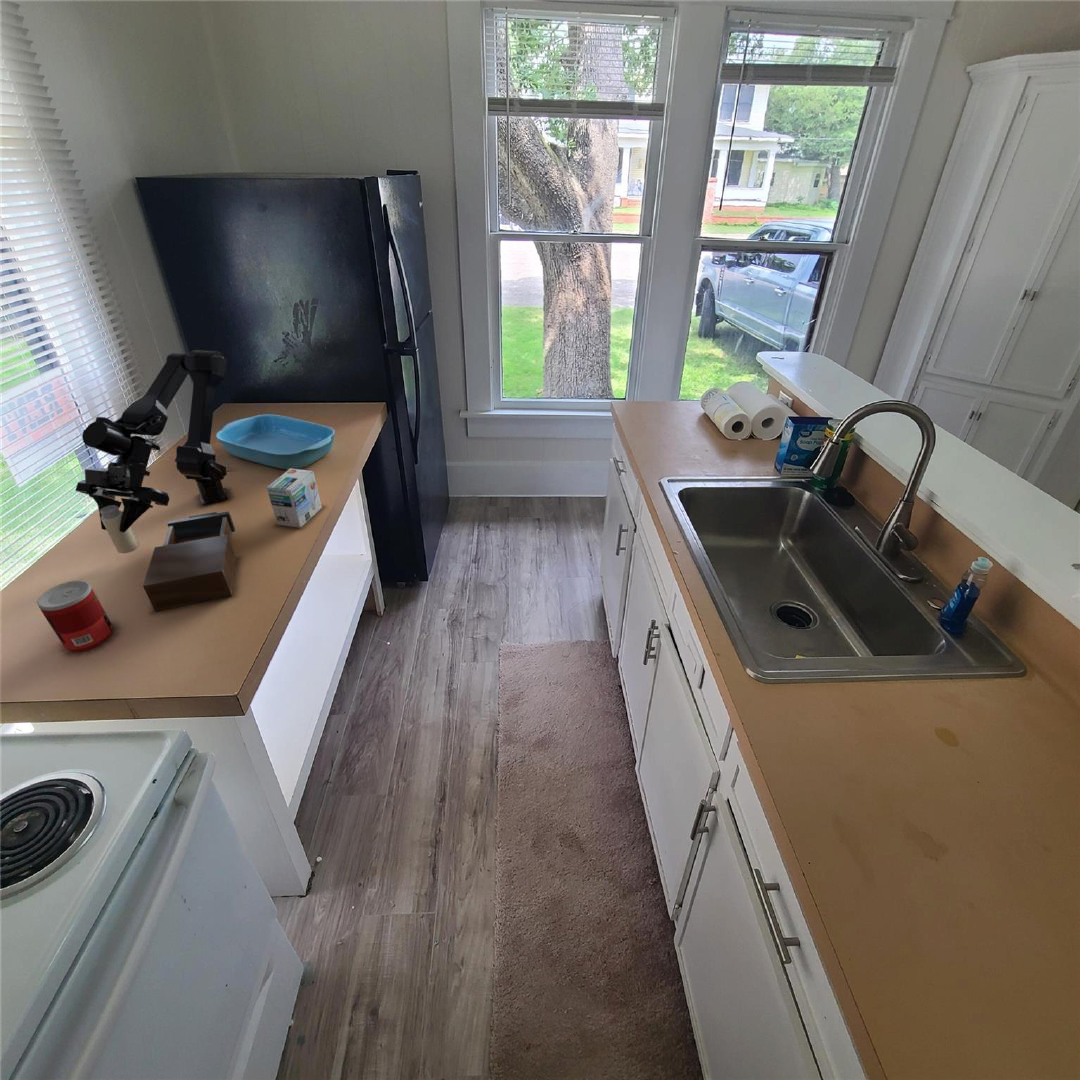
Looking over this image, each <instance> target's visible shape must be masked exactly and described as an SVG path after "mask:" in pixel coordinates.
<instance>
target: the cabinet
mask: <svg viewBox="0 0 1080 1080" xmlns="http://www.w3.org/2000/svg"><path fill="white" fill-rule="evenodd" d="M236 561H237V557H236V554H235V552H234V549H233V547H232V543H231V544H230V541H229V538H228V535H222V536H216V537H211V538H205V539H199V540H194V541H188V542H182V543H176V544H171V545H165V546H163V545H160V546H155V547H154V548H153V552H152V555H151V559H150V562H149V565H148V568H147V571H146V574H145V577H144V579H143V580H144V581H143V584H142V588H143V590H144V592H145V594H146V596H147V598H148V601H149V602H150V604H151V606H152V608H153V610H154V612H155V613H157V612H161V611H166V610H172V609H176V608H181V607H187V606H192V605H196V604H201V603H205V602H210V601H215V600H221V599H226V598H230V597H233V590H234V581H235V572H236V565H237V563H236Z"/></svg>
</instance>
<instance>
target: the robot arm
mask: <svg viewBox="0 0 1080 1080" xmlns="http://www.w3.org/2000/svg"><path fill="white" fill-rule="evenodd" d="M226 370H227V360H226V359H225V357H224V355H223V354H222V353H221V352H220V351H215V350H203V349H194V350H191V351H190V352H188V353H177V352H171V353H169V354H168V355H167V356H166V360H165V363H164V364H163V366H162V367H161V369H160V371H159V373H158V374H157V375H156V377H155V378H154V380H153V381H152V383H151V384H150V386H149V388H148V389H147V391H146V392H145V394H144V395H143V396H142V397H141V398H138V399H137V400H135V401H133V402H132V403H130V405H129V406H128V407H127V408H126V409H125V410H123V412H122V414H121V416H119V417H118V418H117V419H116V420H114V421H112V420H111V419H110V418H108V417H106V416H97V417H96V418H95V421H93V422H91V423H89V424H88V426H87V427H85V429H83V431H82V435H81V436H82V442H83V444H84V445H86V447H89V448H92V449H95V450H97V451H99V452H103V453H105V454H107V455H110V456H114V457H116V459H115V461H110V462H109V463H108V464H107V467H104V468H103V467H95V468H84V478H85V479H81V480H79V481H78V482H77V484H76V487H75V492H77V493H81V494H84V495H87V496H89V498H92V500H94V501H95V503H96V504H97V507H98V508H97V509H98V513H99V520H100V527H101V528H100V529H101V530H103V531H107V530H106V528H105V526H104V524H103V522H102V520H101V516H102V514H101V512H100V510H101V509H102V508H104V507H106V506H110V505H116V506H117V507H118V509H119V510H120V508H121V506H122V505H123V510H122V511H123V514H122V518H121V523H120V530H119V531H120V532H126V530H127V529H128V528H129V527H131V526H132V525H133V524H134V523H135V522H136V521H137V520H138V519H139V518H141V517H142V516H143V514H145V513H146V512H147V511H148V510H149V509H153V508H154V505H152V502H153V503H154V504H155V505H156V506H164V507H168V506H169V502H170V495H169V494H168V492H166V491H162V490H159V489H156V488H154V487H148V486H143V483H144V479H145V477H150V476H151V475H150V474H151V471H149V470H147V469H148V464H149V461H150V457H151V453H152V451H158V452H159V451H160V450H161V447H160V445H159V444H158V443H157V442H156V441H157V440H156V439H155V438H150V437H146V438H144V437H142V436H151V437H155V436H156V437H157V436H159V435H161V434H162V433H163V431H164V429H165V427H166V424H167V421H168V418H169V415H168V409H169V406H170V405H171V403H172V402H173V399H174V398H175V396H176V395H177V393H178V391H179V390H180V388H181V386H182V385H183V383H184V382H185V380H186V378H187V377H188V376H189V379H190V380H191V382H192V392H191V403H190V413H189V420H188V421H189V422H188V431H187V439H186V441H185V442H184V444H183V445H177V446H176V451H175V452H176V453H175V454H176V455H175V458H174V463H176V470H178V472H179V473H180V474H181V475H182V476H184V478H185V479H186V480H193V481H195V483H196V486H197V489H198V491H199V500H200V504H201V505H202V506H206V505H210V504H216V503H219V502H224V501H228V500H229V499H230V498H229V494H228V490H227V488H226V487H224V485H223V482H222V480H224V479H225V476H227V467H226V466H225V465H223V464H221V463H218V462H217V461H216V460H217V459H216V458H217V456H216V452H215V451H214V449H213V447H212V445H211V439H212V438H211V437H212V429H213V420H214V419H213V418H214V410H215V401H216V400H215V399H216V389H217V388H218V386H219V385H220V384H221V383H222V381H224V378H225V374H226ZM139 435H140V436H139ZM116 497H120V500H121V501H119V500H116Z"/></svg>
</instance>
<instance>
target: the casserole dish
mask: <svg viewBox="0 0 1080 1080" xmlns="http://www.w3.org/2000/svg"><path fill="white" fill-rule="evenodd" d="M335 436H336V431H335V429H334V428H332V427H330V426H327V425H323V424H320V423H316V422H311V421H307V420H302V419H298V418H295V417H294V418H293V417H289V416H285V415H279V414H272V413H271V414H268V413H267V414H258V415H254V416H250V417H245V418H241V419H237V420H234V421H230V422H229V423H227V424H225V425H224V426H223V428H222V429H220V430H219V431H218V432H216V434H215V437H216V438H217V440H218V441H219V443H220V444H221V445H222V447H223V448H224V449H225V450H226V451H227V453H229V454H231V455H232V456H234V457H237V458H241V459H244V460H247V461H251V462H254V463H257V464H261V465H265V466H267V467H272V468H276V469H279V470H284V471H288V470H289V469H298V470H303V469H304V468H306V467H308V466H310V465H312V464H313V463H315V462H317V461H319V460H321V459H323V458H324V457H325V456H326V455H328V454H329V453H330V452H331V450H332V449H333V446H334V441H335Z"/></svg>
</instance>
